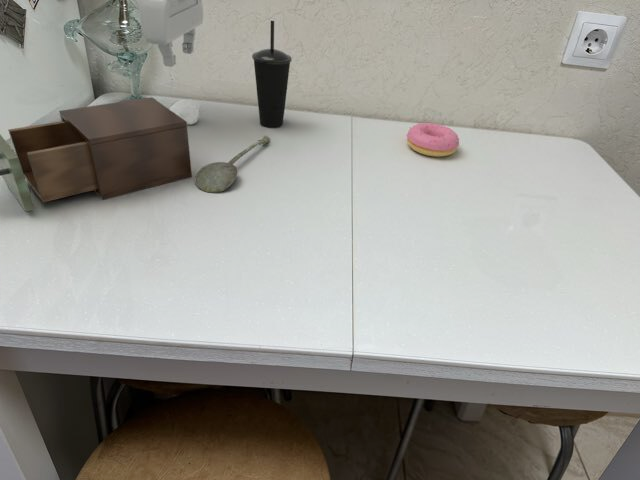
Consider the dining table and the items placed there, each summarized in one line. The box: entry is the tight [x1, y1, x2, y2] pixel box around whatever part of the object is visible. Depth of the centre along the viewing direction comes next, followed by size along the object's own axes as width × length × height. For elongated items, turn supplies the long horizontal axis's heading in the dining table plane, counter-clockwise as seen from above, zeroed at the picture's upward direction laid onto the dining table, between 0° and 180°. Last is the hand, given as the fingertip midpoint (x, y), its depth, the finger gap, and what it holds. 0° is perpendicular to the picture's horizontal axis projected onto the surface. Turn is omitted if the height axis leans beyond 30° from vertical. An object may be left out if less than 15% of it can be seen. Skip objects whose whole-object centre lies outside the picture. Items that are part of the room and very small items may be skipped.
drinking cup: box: [251, 20, 293, 129], centre depth 98 cm, size 8×8×20 cm
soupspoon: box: [194, 135, 272, 194], centre depth 87 cm, size 22×3×7 cm
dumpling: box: [168, 98, 201, 126], centre depth 100 cm, size 7×5×4 cm
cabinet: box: [58, 96, 193, 201], centre depth 78 cm, size 15×12×10 cm
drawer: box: [0, 120, 98, 212], centre depth 71 cm, size 18×11×8 cm, turn 132°
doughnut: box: [406, 122, 460, 158], centre depth 101 cm, size 11×11×4 cm
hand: (179, 58), depth 94 cm, fingers open, 8 cm apart
